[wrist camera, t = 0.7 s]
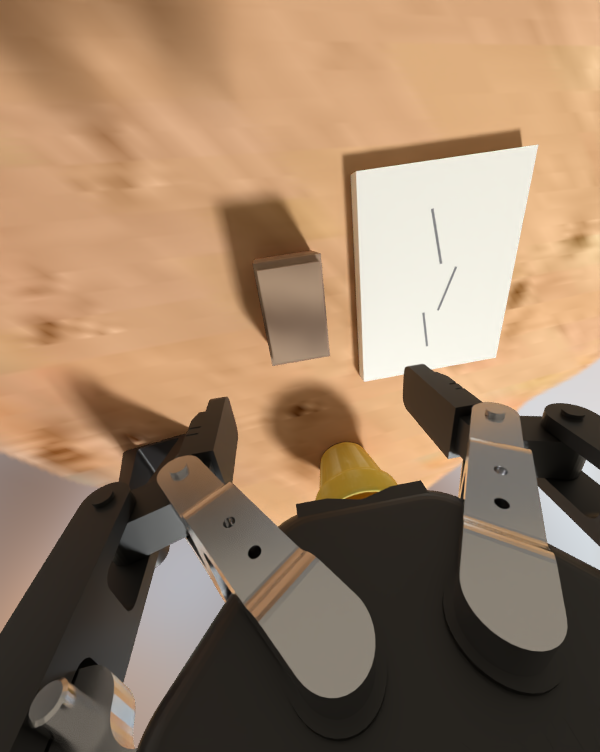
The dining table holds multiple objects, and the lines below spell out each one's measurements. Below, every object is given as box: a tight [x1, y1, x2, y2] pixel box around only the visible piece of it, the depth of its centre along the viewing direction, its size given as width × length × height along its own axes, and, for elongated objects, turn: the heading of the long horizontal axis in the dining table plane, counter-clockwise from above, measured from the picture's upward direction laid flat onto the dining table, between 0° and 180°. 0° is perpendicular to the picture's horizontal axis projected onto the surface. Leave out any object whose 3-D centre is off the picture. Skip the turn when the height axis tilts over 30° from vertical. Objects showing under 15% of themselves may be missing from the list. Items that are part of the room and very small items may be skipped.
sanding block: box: [253, 251, 330, 366], centre depth 26 cm, size 9×6×6 cm, turn 8°
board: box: [351, 145, 538, 382], centre depth 29 cm, size 20×16×2 cm
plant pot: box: [315, 442, 397, 501], centre depth 35 cm, size 10×10×10 cm
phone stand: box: [119, 434, 186, 568], centre depth 30 cm, size 9×6×12 cm, turn 104°
